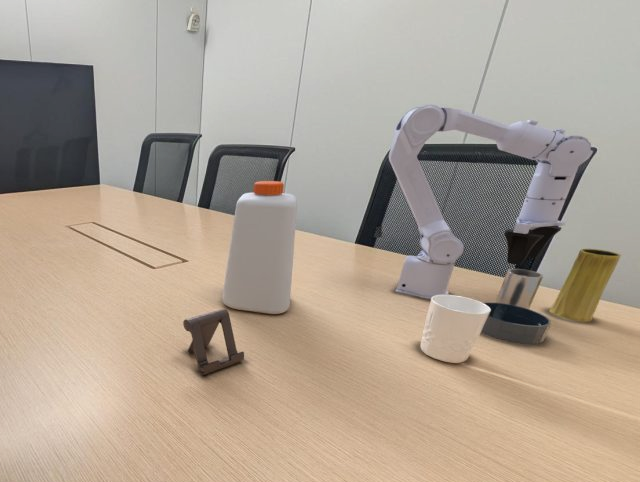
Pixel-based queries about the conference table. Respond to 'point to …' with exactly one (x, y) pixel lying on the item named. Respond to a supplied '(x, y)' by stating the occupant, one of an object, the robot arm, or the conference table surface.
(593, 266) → the vase
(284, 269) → the plastic bottle
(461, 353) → the white cup
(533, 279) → the silver cup
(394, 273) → the conference table surface
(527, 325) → the dark grey shallow bowl
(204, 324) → the tablet stand
